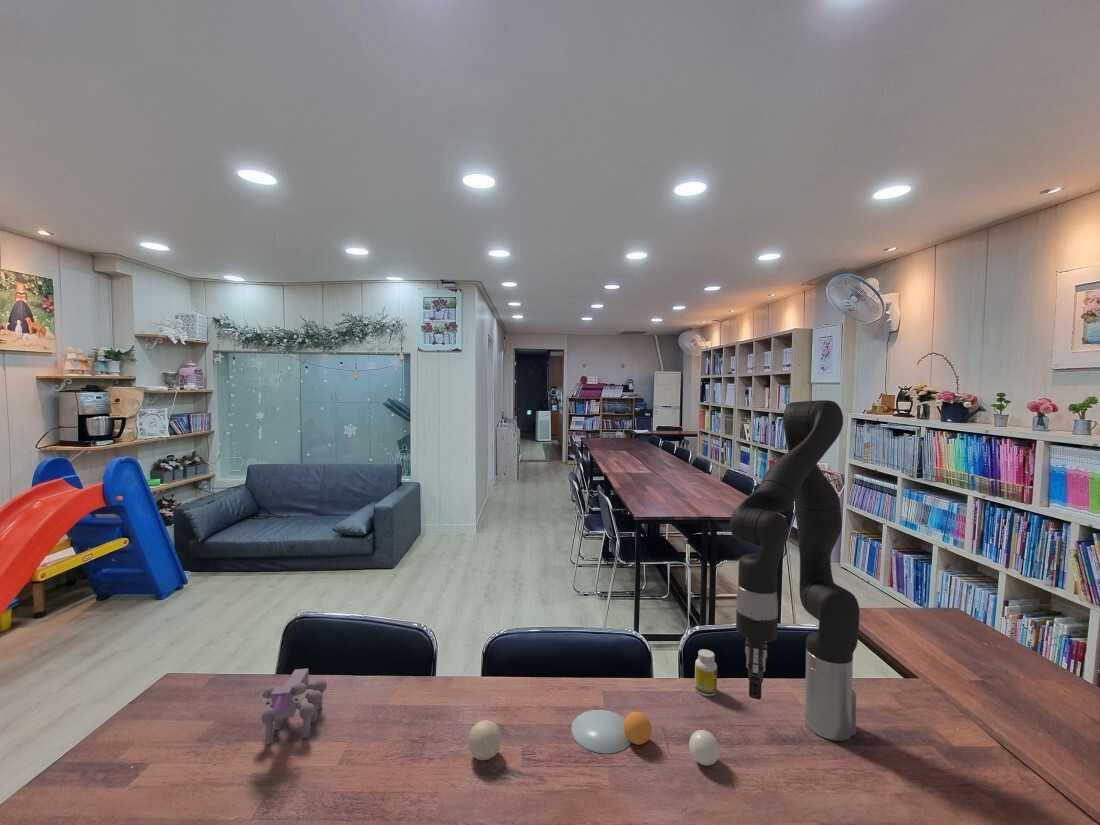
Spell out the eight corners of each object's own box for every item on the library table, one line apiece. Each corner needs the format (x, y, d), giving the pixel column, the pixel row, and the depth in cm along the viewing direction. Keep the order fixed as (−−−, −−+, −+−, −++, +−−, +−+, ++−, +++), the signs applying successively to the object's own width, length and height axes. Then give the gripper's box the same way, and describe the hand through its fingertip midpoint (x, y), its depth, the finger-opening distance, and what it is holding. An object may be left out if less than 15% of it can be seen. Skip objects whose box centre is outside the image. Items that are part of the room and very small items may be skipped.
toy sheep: (302, 766, 95) (299, 700, 94) (244, 776, 93) (240, 708, 92) (330, 704, 114) (327, 649, 114) (282, 711, 112) (279, 655, 112)
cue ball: (711, 750, 100) (711, 722, 100) (724, 772, 94) (725, 742, 94) (684, 752, 100) (684, 724, 100) (696, 774, 94) (696, 744, 94)
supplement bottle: (718, 698, 118) (718, 659, 118) (695, 695, 119) (696, 657, 119) (715, 685, 124) (715, 649, 123) (693, 683, 125) (694, 646, 124)
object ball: (646, 731, 106) (646, 704, 106) (655, 750, 100) (655, 722, 100) (620, 732, 105) (620, 706, 105) (627, 752, 99) (627, 724, 99)
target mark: (624, 709, 114) (624, 708, 114) (641, 751, 100) (641, 750, 100) (567, 712, 112) (567, 711, 112) (576, 755, 98) (576, 754, 98)
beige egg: (475, 774, 93) (475, 741, 93) (464, 750, 99) (464, 719, 99) (506, 762, 96) (507, 730, 96) (494, 740, 103) (494, 710, 103)
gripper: (737, 594, 100) (736, 674, 100) (734, 619, 88) (732, 711, 88) (776, 600, 97) (775, 683, 97) (779, 628, 85) (777, 722, 85)
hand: (755, 696), depth 93 cm, fingers closed
